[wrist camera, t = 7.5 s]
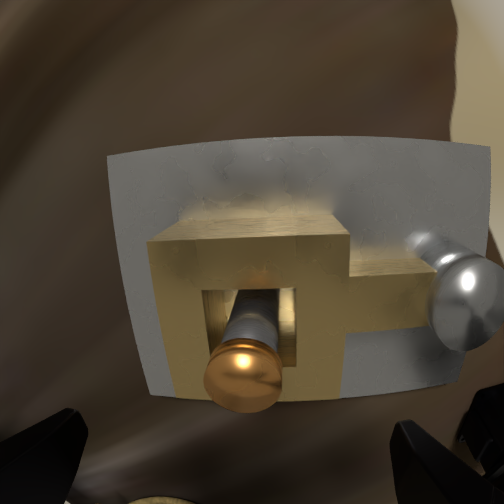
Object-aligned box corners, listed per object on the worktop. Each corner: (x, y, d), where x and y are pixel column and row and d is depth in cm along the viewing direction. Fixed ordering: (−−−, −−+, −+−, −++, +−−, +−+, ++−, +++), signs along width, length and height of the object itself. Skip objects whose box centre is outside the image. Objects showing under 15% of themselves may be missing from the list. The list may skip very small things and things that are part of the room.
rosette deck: (477, 146, 16) (538, 147, 10) (449, 370, 20) (482, 420, 14) (118, 156, 18) (59, 158, 12) (156, 382, 22) (127, 437, 16)
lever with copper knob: (283, 266, 17) (281, 354, 10) (284, 311, 18) (282, 413, 10) (233, 268, 17) (197, 353, 10) (237, 311, 18) (209, 411, 11)
